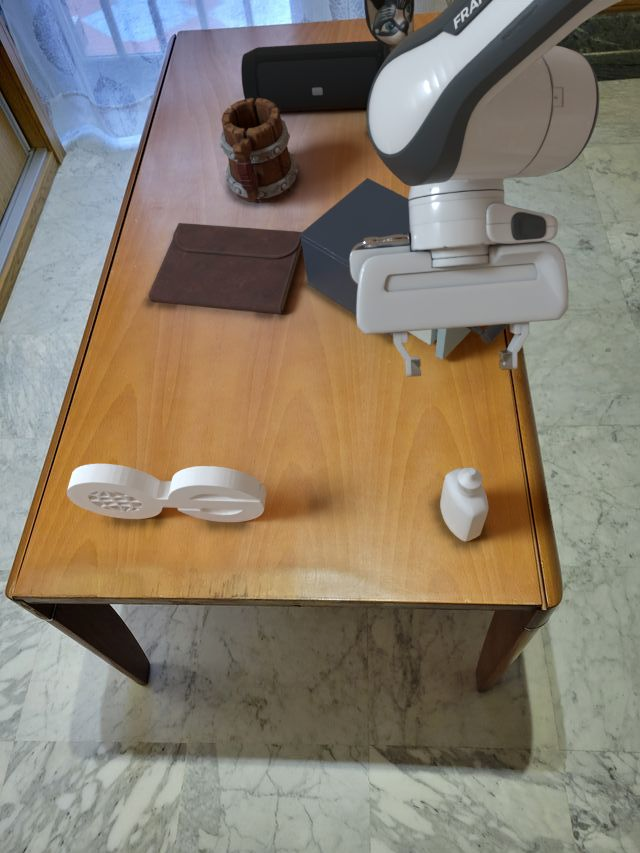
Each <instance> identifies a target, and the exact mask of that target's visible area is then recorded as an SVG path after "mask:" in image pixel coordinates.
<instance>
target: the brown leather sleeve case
mask: <svg viewBox="0 0 640 853" xmlns="http://www.w3.org/2000/svg"><path fill="white" fill-rule="evenodd" d="M302 232H303V231H297V230H295V231H294V230H283V229H268V228H253V227H243V226H242V227H240V226H239V227H238V226H226V225H213V224H197V223H187V222H186V223H184V222H178V223H177V226H176V228H175V230H174V232H173V235H172V240H171V242H170V244H169V246H168V249H167V251H166V254H165V255H164V258H163V260H162V262H161V265H160V267H159V269H158V272H157V274H156V277H155V279H154V281H153V283H152V286H151V287H150V290H149V293H148V299H149V301H150V302H153V303H162V304H163V303H164V304H171V305H172V304H173V305H182V306H194V307H201V308H203V307H204V308H213V309H222V310H223V309H224V310H235V311H243V312H244V311H245V312H253V313H254V312H255V313H266V314H276V315H283V314H284V311H285V307H286V304H287V300H288V297H289V293H290V291H291V287H292V284H293V280H294V277H295V273H296V270H297V267H298V265H299V264H298V262H299V260H300V257H301V253H302V251H303V248H302V242H301V236H300V233H302Z"/></svg>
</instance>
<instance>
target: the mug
mask: <svg viewBox="0 0 640 853" xmlns="http://www.w3.org/2000/svg"><path fill="white" fill-rule="evenodd" d="M221 124H222V131H221V135H220V140H221V142H219V147H220V148H221V149H222V152H223V153H224V155H225V156H226V157H227V159H228V163H227V166H226V170H225V173H226V175H225V176H224V181H226V182H227V183H228V187H229V188H230V189H231V191H232V192H233V193H234V194H235V195H236V196H237V197H238V198H239V199H241V200H244V201H246V202H249V203H254V204H255V203H258V202H259V203H260V204H263V203H270V202H273V201H276V200H279V199H281V198H282V197H283V196H285V195H286V194H288V192H290V191H291V189H293V187H294V186H295V182H296V179H297V175H298V174H299V169H298V167H297V162H296V159H295V156H294V154H293V153H291V152H290V151H289V148H288V145H289V141H290V138H291V135H290V134H291V133H289V130H288V126H287V124H286V120H284V119H283V118H282V117H281V111H279V109H278V108H277V106H276V105H275V104H274V103H273V102H272V101H269V100H266V99H263V98H257V99H256V101H255V100H254V98H249V99H245V98H244V99H240V100H238V101H236V102H234V103H232V104H231V105H230V107H227V108H226V109H225V111H224V112H223V113H222V116H221Z"/></svg>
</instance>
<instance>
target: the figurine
mask: <svg viewBox="0 0 640 853" xmlns="http://www.w3.org/2000/svg"><path fill="white" fill-rule="evenodd" d="M363 4H364V6H363V7H364V16H365V17H364V18H365V22H366V26H367V28H368V30H369V33H370V34H371V37H373V39H374V40H375V41H378V42H380V43H381V44H383V45H384V58H385V60H386V58H387V57H388V56H389V54H390V53H391V52H392V51H393V50H394V48H395V47H396V46H397V45H398V44H399V43H400V42H401V41H402V40H403V39H404V38H405V37H406V36H407V35H409V34H410V33H412V32H413V31H415V19H414V18H415V17H414V16H415V0H363Z"/></svg>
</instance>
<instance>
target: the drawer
mask: <svg viewBox="0 0 640 853" xmlns="http://www.w3.org/2000/svg"><path fill="white" fill-rule="evenodd" d="M509 326H510V324H498V325H488V327H487V328H486V329H483V328H481V327H480V326H472V327H459V328H446V329H433V330H420V331H408V334H411V335H412V336H414V337H415V338H417V339H419V340H421V341H422V342H423V343H425V344H427V345H428V346H432V345H433V344H434V343H435V341H436V344H435V345H436V346H435V355H434V356H435V357H436V358H438V359H440V360H441V361H443V360H445V359H446V357H447V356H448V355H450V353H451V352H452V351H453V350H454V349H455V348H456V347H457V346H458V345H460V344H461V342H462V341H463V340H464V339H465V338H466V337H467V336H468V334H470V333H471V332H472V333H475V334H476V335H479V336H480V340H481V341H482V342H483V343H485V344H487V345H491V344H492V343H493V342H495V340H496V339H497V338H498V337H499V336H500V335H501V334H502V333H503V332H504V331H505V330H506V328H507V327H509Z"/></svg>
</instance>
